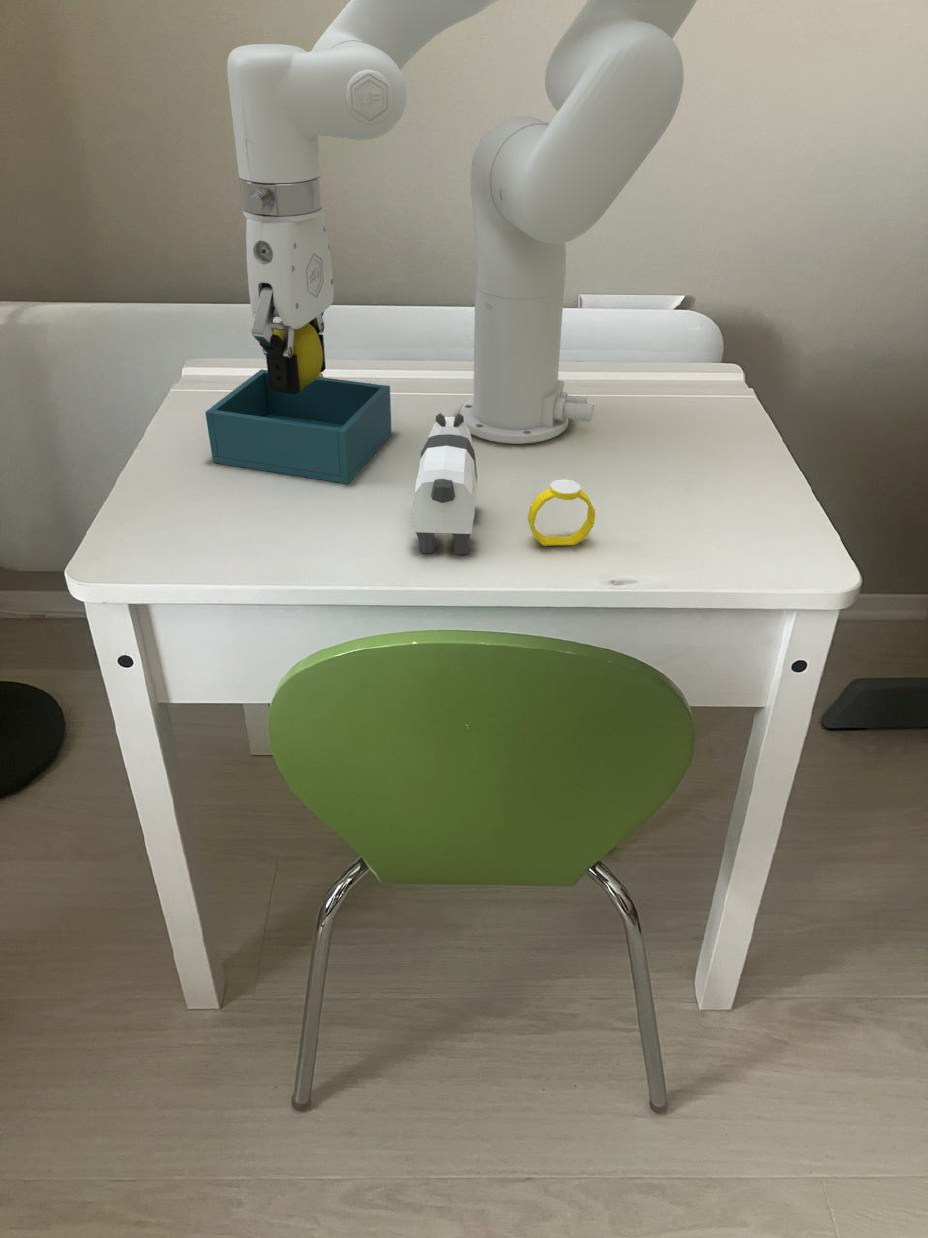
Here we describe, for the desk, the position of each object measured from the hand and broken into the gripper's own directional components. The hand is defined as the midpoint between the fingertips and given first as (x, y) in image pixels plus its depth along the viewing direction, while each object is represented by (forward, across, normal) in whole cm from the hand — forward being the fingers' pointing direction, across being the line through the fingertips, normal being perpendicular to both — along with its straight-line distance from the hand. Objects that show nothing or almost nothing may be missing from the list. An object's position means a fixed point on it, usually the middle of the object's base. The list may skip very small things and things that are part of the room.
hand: (298, 378), depth 102 cm
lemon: (+2, 0, 0) cm, 2 cm away
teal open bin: (+8, 0, 0) cm, 8 cm away
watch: (+8, -11, -31) cm, 34 cm away
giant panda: (+8, -11, -20) cm, 24 cm away
